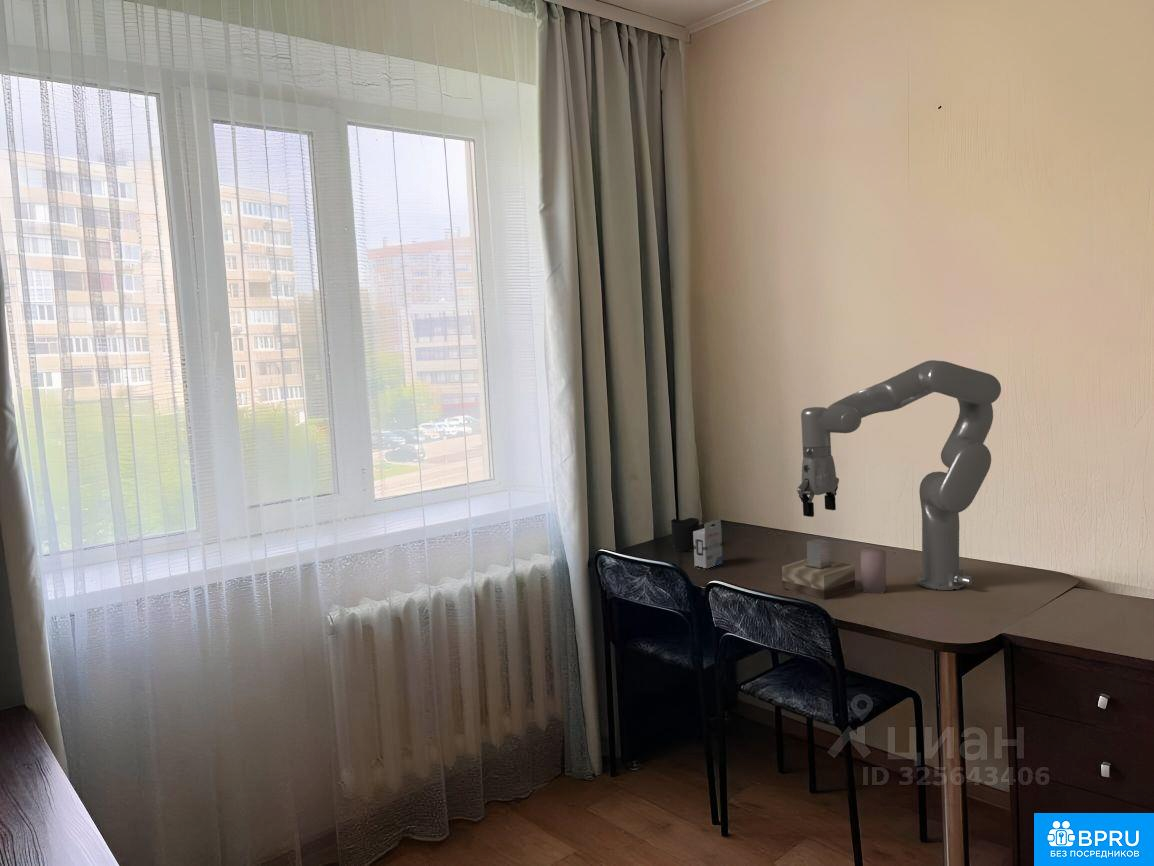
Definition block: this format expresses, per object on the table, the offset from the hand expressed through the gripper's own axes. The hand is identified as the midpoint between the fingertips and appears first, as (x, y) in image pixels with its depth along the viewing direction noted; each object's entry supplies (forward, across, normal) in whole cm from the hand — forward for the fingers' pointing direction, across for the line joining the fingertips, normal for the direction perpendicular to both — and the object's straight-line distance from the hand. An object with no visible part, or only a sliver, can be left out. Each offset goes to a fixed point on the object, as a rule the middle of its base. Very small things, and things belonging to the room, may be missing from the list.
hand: (819, 512), depth 235 cm
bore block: (+22, -1, +1) cm, 22 cm away
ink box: (+21, -5, +39) cm, 45 cm away
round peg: (+22, +8, -11) cm, 26 cm away
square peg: (+19, -1, +1) cm, 19 cm away
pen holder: (+21, +5, +59) cm, 63 cm away
